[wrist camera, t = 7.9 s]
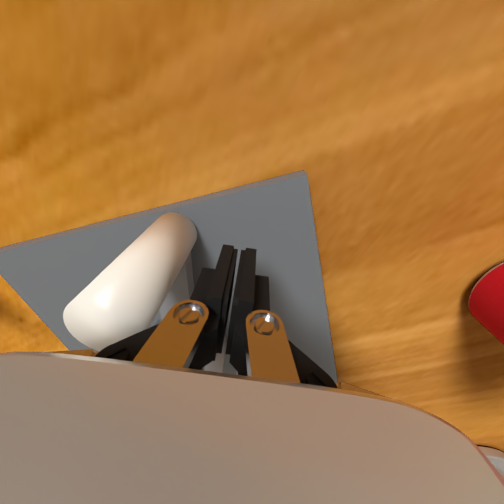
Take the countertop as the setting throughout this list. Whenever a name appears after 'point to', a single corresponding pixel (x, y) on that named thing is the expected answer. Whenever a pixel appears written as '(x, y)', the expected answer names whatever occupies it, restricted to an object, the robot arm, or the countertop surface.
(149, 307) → the peg dial
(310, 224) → the board
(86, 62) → the countertop surface
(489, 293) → the beverage can
